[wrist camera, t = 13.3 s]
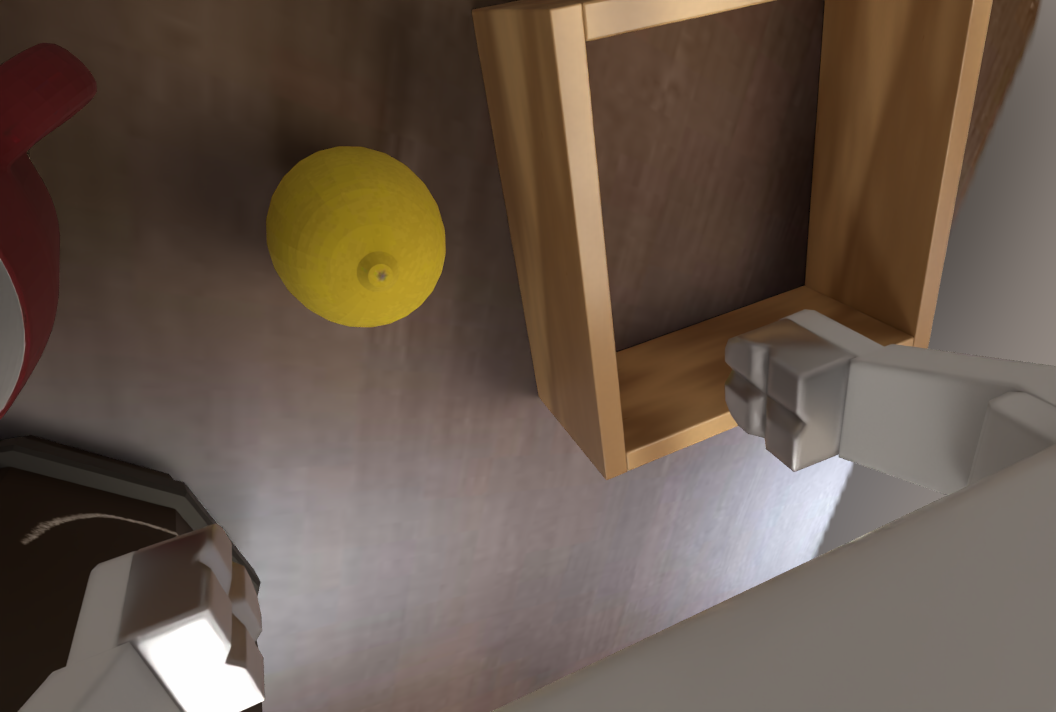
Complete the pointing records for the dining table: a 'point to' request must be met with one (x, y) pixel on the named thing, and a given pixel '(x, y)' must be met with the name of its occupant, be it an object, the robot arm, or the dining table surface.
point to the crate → (835, 212)
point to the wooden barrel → (72, 546)
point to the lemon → (355, 236)
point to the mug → (31, 204)
